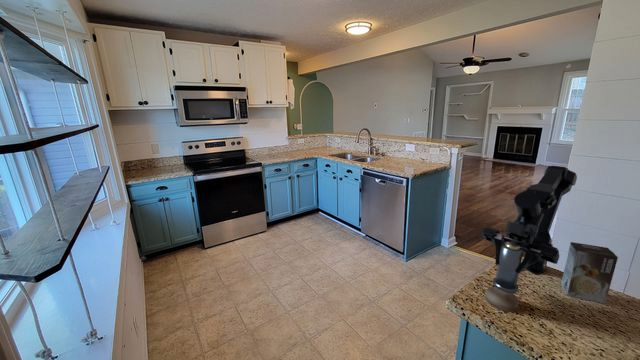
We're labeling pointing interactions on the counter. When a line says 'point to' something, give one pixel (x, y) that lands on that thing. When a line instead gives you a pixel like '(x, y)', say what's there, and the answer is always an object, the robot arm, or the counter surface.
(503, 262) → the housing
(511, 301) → the stand
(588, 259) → the coffee box
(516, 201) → the robot arm
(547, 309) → the counter surface
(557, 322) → the counter surface
